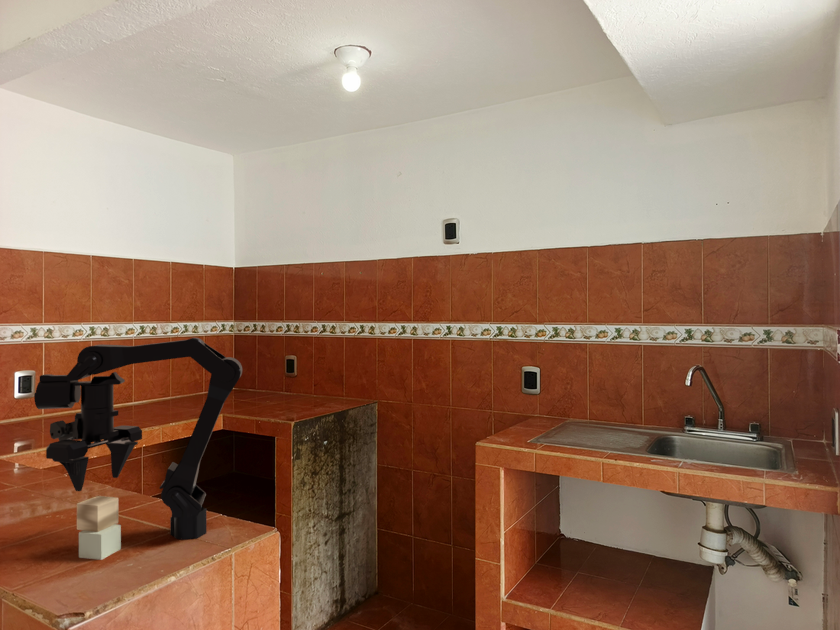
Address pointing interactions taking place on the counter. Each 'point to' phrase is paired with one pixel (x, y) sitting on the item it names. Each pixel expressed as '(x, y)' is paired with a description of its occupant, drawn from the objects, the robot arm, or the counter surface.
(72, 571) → the counter surface
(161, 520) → the counter surface
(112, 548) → the sage block
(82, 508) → the maple block
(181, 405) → the counter surface
